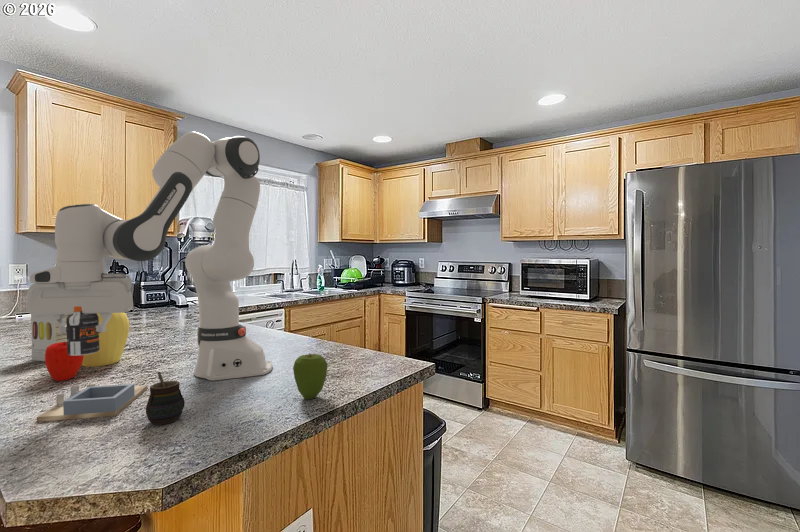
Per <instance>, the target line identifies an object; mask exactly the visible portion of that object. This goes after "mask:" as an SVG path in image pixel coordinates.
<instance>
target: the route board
mask: <svg viewBox="0 0 800 532" xmlns="http://www.w3.org/2000/svg"><path fill="white" fill-rule="evenodd" d="M82 390H83V389H81V390H80V391H82ZM147 390H148V385H136V386H135V385H134V392H135V396H134V397H133V398H131V399H130V400H129V401H128V402H126V403H125V404H124V405H123V406H122V407H120V408H119V409H118V410H117V411H113V412H100V413H87V414H73V415H64V411H63V406H60V407H57V406H56V405H54V406H52V408H50V409H47V410H46V411H44V412H43V413H41V414H39V415H38V416H36V423H38V422H39V423H40V422H51V421H65V420H76V419H79V420H80V419H89V418H90V419H92V418H106V417H116V416H117V415H119V414H120V413H121V412H122V411H123V410H124V409H125V408H127V407H128V406H129V405H130V404H131V403H133V402H134V401H135V400H136V399H137V398H139V397H140V396H141V395H143V394H144V393H145V392H146V391H147ZM68 398H70V396H69V397H68ZM68 398H66V399H64V401H65V400H67V399H68Z"/></svg>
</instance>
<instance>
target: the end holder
mask: <svg viewBox="0 0 800 532" xmlns="http://www.w3.org/2000/svg"><path fill="white" fill-rule="evenodd" d="M134 386H135V383H128V384H112V385H97V386H96V385H95V386H92V387H87V386H86V387H85V388H84V389H81V390H82V391H81V390H79V391H80V392H78V393H77V394H75V395H73V396H72V397H70V396H69V397H70V398H69V397H67V398H66V399H67V400H66V399H64V400H65V401H63V411H64V415H73V414H87V413H100V412H113V411H117V410H118V409H119V408H120V407H122V406H123V405H124V404H125V403H126V402H128V401H129V400H130V399H131V398H133V397H134V396H135V392H134Z"/></svg>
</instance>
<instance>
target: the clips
mask: <svg viewBox="0 0 800 532" xmlns="http://www.w3.org/2000/svg"><path fill="white" fill-rule="evenodd" d="M92 386H96V384H95V383H92V384H88V385H87V386H86V388H87V387H92ZM80 391H81V390H80V384H77V385H76V384H75V385H73V384H72V386H70V395H69V397H72V396H73V395H75V394H77V393H78V392H80ZM64 400H65V393H60V394H59V393H58V394H56V405H55V406H57V407H60V406H63V401H64Z"/></svg>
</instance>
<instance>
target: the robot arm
mask: <svg viewBox="0 0 800 532" xmlns="http://www.w3.org/2000/svg"><path fill="white" fill-rule="evenodd" d="M260 156H261V155H260V150H259V147H258V144H256V142H255V141H254V140H252V139H251V138H249V137H247V136H241V135H235V136H232V137H224V138H220V139H217V140H214V141H211V139H209V137H207V136H206V135H204V134H202V133H200V132H196V131H190V132H186V133H184V134H183V135H182V136H180V137H179V138H178V139H176V140H175V141H174V142H173V143H172V144H171V145H170V146H169V147H168V148H167V149H166V150H165V151H164V152H163V153H162V154H161V155H160V156H159V158H158V160H157V161H156V163H155V164H154V166H153V169H152V171H151V173H152V178H153V181H154V182H155V184H156V185H157V186H158V187H159V188H158V191H156V194H155V195H154V197H152V199H151V201H150V202H149V203H148V205H147V206H146V207H145V209H144V210H143V212H141V213H140V214H139V215H137V216H135V217H132V218H130V219H123V218H120V217H117V216H115V215H113V214H111V213H109V212H108V211H105V210H104V209H102V208H101V207H100V206H99V205H97V204H95V203H85V204H84V203H83V204H81V203H80V204H75V205H74V204H73V205H65V206H63V207H61V208H60V209H59V210H58V211H57V213H56V216H55V221H54V242H55V243H54V244H55V245H56V249H57V255H56V257H55V266H54V267H51V268H47V269H43V270H41V271H38V272H37V271H36V272H33V273H31V274H29V278H28V279H29V281H30V283H31V285H30V286H29V288H28V289H27V294H26V311H27V312H28V314H30V315H33V316H35V315H53V321H54V322H55V323H56V324H57V326H58V327H59V334H67V325H66V323H65V322H64V320H63V318H65V314H74V307H75V306H81V307H82V313H84V314H96V313H100V316H101V318H103V320H102V322H101V323H100V324H99V325H96V333H102V332H106V330H107V329H106V324H107V323H108V321H109V320H110V318H111V317H112V313H124V312H125V313H128V312H130V311H131V310H132V309H133V308H134V300H133V293H132V287H133V283H132V281H133V280H132V278H131V277H130V276H129V275H126V274H125V273H122V272H120V273H107V272H106V271H105V270H106V268H105V258H106V257H110V258H113V259H117V260H118V259H120V260H131V261H136V262H146V261H150V260H153V259H154V258H156V257H158V255H160V253H161V252H162V251H163V249H164V246H165V244H166V239H167V236H168V233H169V232H168V231H169V229H170V227H171V225H172V224H173V222H174V221H175V219H176V217H177V216H178V214H179V213H180V211H181V210H182V208H183V206H184V205H185V203H186V201H187V200H188V198H189V196H190V195H191V193H192V191H193V190H194V189H195V187H196V186H197V185H198V183H199V182H200V181H201V180H202V179H203V177H204V176H205V175H208V176H209V177H213V178H222V177H223V182H224V183H223V184H224V186H223V191H222V192H221V195H220V197H219V200H218V204H217V207H216V209H215V212H214V214H213V218H212V225H213V228H214V229H215V230H214V231H215V232H214V233H215V235H214V237H215V238H214V242H213V244H204V245H201V246H197V247H195V248H193V249H191V250H190V251H189V252H188V253H187V254H186V257H185V261H184V265H185V268H186V270H187V272H188V274H190V275H191V278H192V281H193V283H194V286H195V287H194V288H195V292H196V296H197V298H198V313H199V314H198V318H199V320H198V321H199V326H198V328H197V345H198V351H197V353H198V354H197V360H196V364H195V368H194V373H193V375H194V376H195V377H197V378H200V379H201V378H202V379H206V380H208V381H222V380H230V379H239V378H246V377H255V376H263V375H266V374H269V373H270V372H271V371H272V370H273V366H274V365H273V363H272V361H270V360H268V359H266V353H265V351H264V348H263V347H262V346H261V345H260V344H258V343H256V342H255V341H253V340H252V339H250V338H249V337H247V328H246V325H244V326H243V325H242V324H241V323H240V307H239V306H240V305H239V304H240V303H239V302H240V301H239V298H238V297H237V295H236V294H235V293H234V291H233V289H232V286H231V282H236V281H240V280H243V279H246V278H247V277H249V276H250V275H251V273H252V272H253V270H254V268H255V267H254V266H255V260H254V256H253V254H252V253H251V251H250V245H249V243H250V242H249V241H250V232H251V227H252V224H253V221H254V217H255V215H256V211H257V208H258V204H259V199H260V191H261V182H260V181H259V179H258V178H257V177H256V175H257V173H258V172H259V165H260V159H261V157H260Z"/></svg>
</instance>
